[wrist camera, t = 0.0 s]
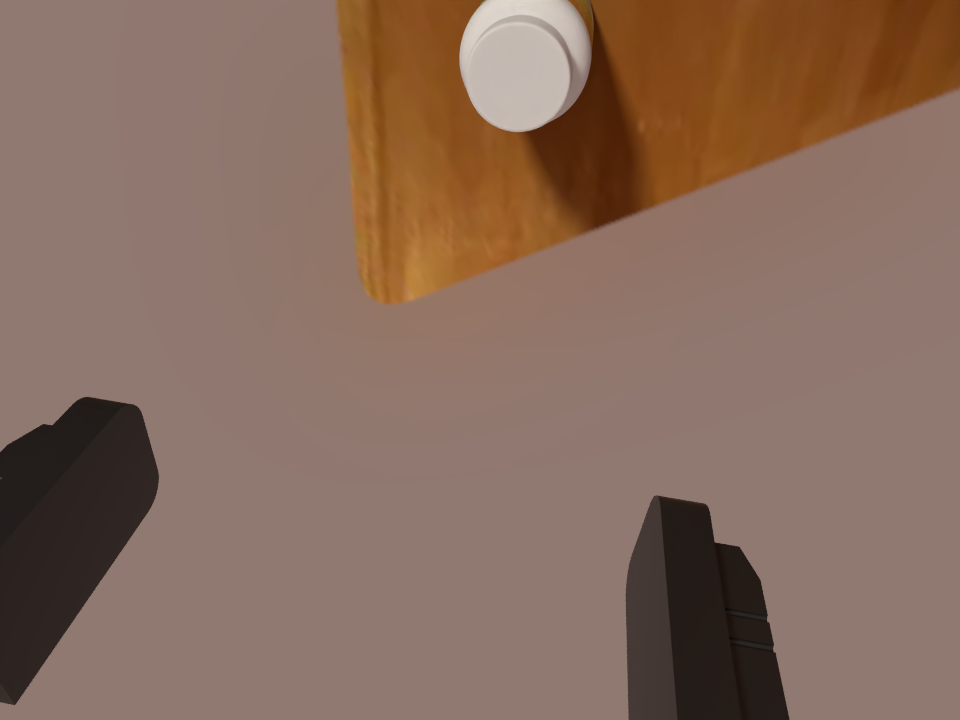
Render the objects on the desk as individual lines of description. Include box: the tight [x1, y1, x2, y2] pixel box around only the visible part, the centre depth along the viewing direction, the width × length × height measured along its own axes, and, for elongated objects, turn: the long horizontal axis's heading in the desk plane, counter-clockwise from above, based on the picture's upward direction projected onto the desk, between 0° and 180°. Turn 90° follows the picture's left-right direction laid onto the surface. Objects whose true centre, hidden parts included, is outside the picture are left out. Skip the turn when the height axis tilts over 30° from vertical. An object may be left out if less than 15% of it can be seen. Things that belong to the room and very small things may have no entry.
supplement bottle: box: [460, 0, 594, 132], centre depth 30 cm, size 5×5×10 cm
